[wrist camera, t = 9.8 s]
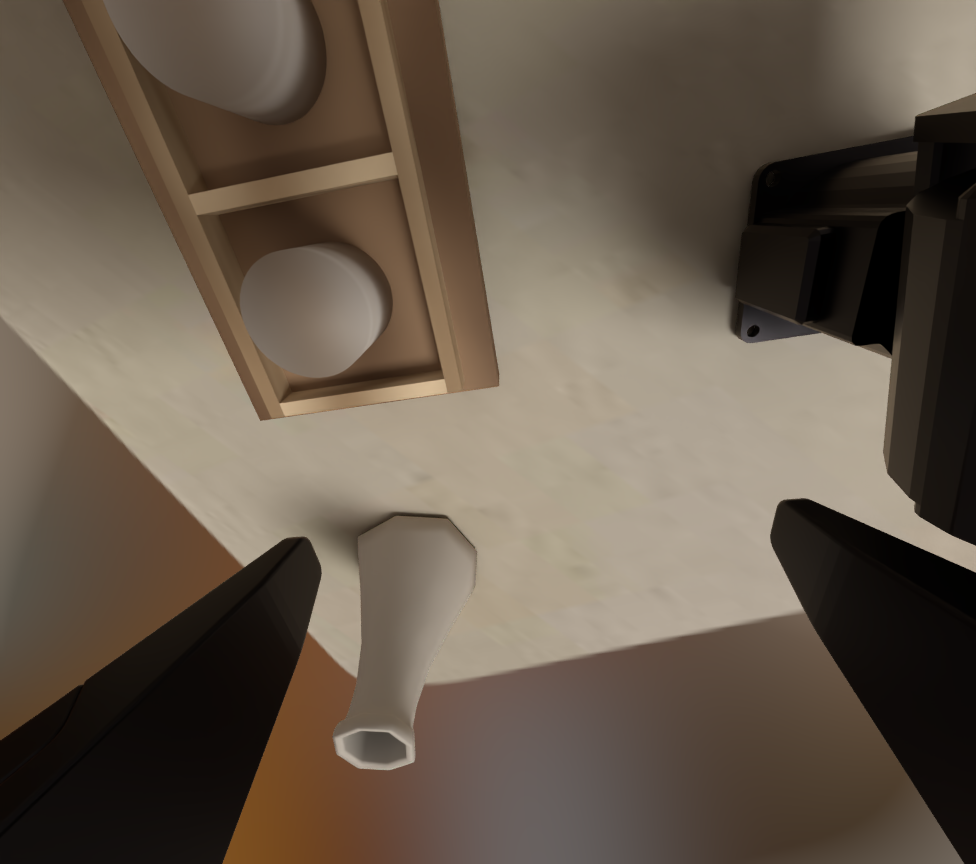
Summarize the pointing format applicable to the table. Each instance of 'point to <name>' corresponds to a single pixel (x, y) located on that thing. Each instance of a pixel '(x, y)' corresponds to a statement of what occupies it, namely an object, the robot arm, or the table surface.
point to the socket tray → (308, 188)
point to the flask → (401, 631)
